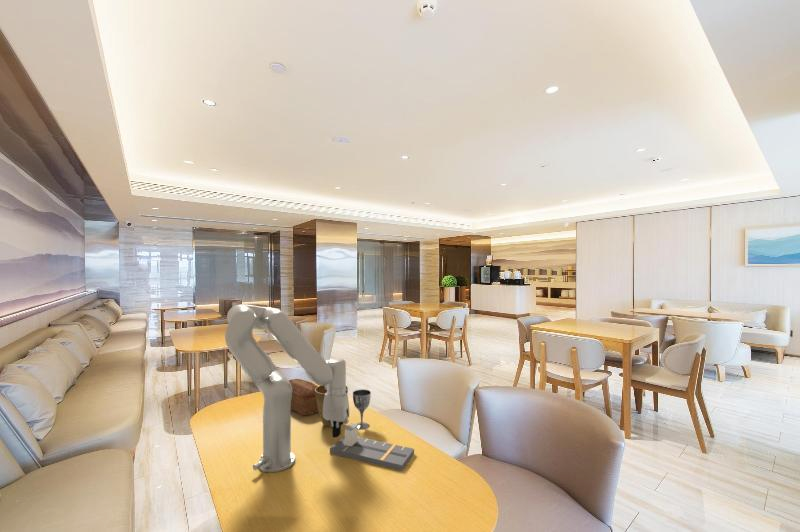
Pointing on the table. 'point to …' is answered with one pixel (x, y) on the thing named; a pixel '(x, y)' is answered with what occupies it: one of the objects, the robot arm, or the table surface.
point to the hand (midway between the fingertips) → (336, 435)
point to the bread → (303, 397)
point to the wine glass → (362, 405)
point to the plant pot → (320, 395)
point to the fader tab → (351, 434)
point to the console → (374, 452)
